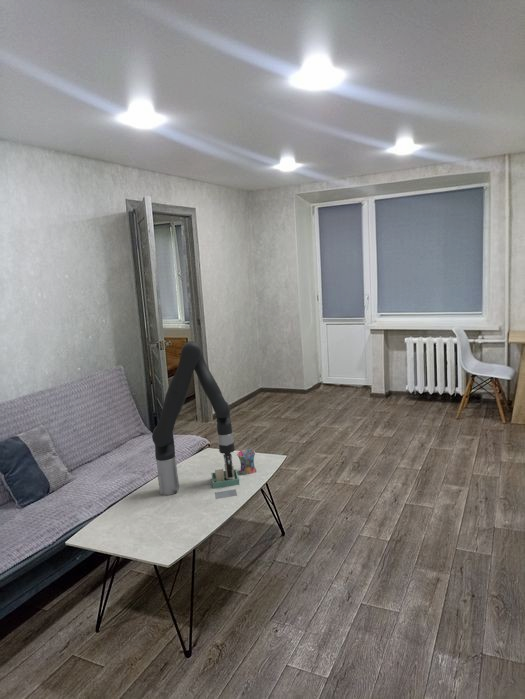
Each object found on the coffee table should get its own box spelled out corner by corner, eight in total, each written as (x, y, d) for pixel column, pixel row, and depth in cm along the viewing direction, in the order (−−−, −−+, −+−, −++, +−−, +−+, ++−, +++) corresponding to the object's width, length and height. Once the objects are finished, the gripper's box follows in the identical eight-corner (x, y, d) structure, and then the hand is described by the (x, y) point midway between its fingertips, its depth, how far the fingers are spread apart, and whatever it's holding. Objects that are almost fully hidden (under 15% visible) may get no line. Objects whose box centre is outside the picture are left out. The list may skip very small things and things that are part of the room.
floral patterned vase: (253, 476, 252) (251, 456, 250) (236, 475, 255) (234, 455, 254) (261, 467, 263) (259, 448, 261) (245, 466, 266) (243, 447, 265)
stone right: (226, 478, 245) (225, 466, 244) (225, 475, 249) (224, 463, 248) (234, 477, 246) (233, 465, 245) (233, 474, 250) (232, 462, 249)
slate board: (215, 501, 229) (215, 499, 229) (214, 494, 236) (214, 492, 236) (237, 497, 231) (237, 495, 231) (236, 491, 238) (235, 489, 237)
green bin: (213, 490, 241) (212, 483, 240) (212, 480, 253) (211, 473, 252) (239, 486, 242) (238, 478, 242) (237, 476, 255) (236, 469, 254)
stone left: (216, 484, 245) (215, 473, 244) (216, 481, 249) (214, 470, 248) (224, 483, 246) (223, 471, 245) (224, 480, 250) (222, 468, 249)
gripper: (217, 438, 251) (221, 471, 254) (219, 447, 237) (223, 482, 240) (232, 436, 252) (236, 468, 255) (235, 445, 238) (239, 479, 241)
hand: (229, 475), depth 247 cm, fingers closed on stone right, 4 cm apart
